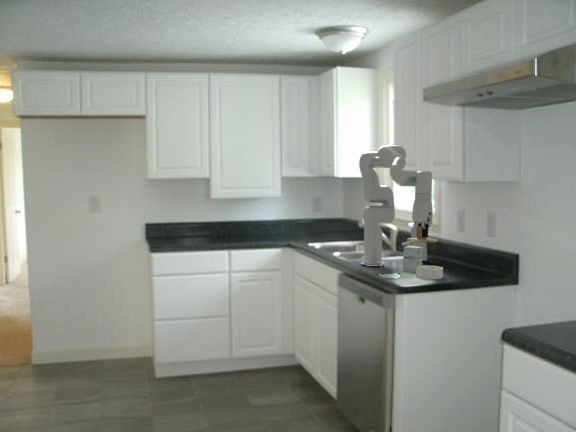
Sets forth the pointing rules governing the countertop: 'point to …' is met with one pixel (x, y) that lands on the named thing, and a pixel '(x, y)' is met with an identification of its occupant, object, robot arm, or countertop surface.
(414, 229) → the tall pale column
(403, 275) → the mat
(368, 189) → the robot arm
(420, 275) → the bowl
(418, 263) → the supplement box
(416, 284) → the countertop surface
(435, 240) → the lid
